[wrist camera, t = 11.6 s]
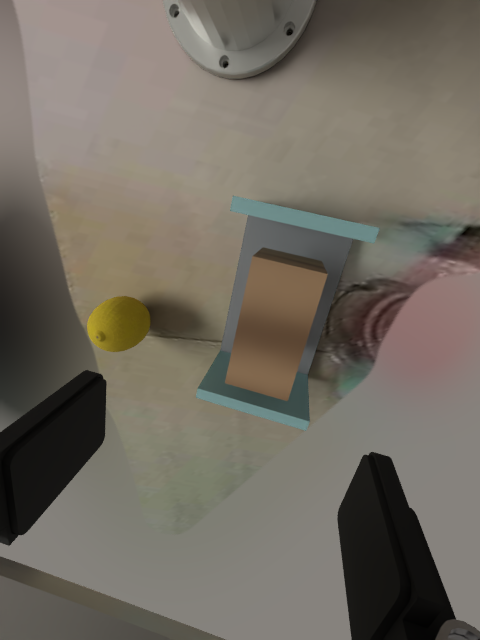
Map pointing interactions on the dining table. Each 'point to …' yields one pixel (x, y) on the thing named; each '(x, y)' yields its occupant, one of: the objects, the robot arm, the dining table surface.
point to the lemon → (118, 324)
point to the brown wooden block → (275, 321)
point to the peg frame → (332, 249)
